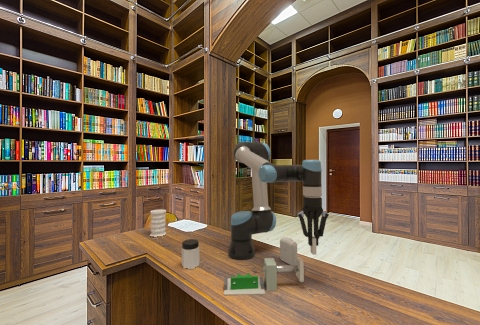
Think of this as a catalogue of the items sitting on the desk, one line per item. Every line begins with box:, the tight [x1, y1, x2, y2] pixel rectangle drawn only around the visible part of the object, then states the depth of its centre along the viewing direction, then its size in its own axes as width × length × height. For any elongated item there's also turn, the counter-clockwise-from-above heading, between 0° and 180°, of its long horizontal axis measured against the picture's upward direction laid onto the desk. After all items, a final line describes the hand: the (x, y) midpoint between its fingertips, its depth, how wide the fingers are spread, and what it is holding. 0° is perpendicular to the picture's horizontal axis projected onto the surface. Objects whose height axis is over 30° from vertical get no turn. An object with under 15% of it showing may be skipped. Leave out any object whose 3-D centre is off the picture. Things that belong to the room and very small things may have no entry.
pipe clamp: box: [230, 272, 259, 290], centre depth 90 cm, size 11×4×5 cm, turn 94°
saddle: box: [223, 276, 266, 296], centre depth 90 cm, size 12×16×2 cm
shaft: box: [262, 255, 305, 283], centre depth 91 cm, size 6×16×8 cm, turn 91°
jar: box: [181, 238, 200, 270], centre depth 110 cm, size 9×8×12 cm
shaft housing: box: [263, 257, 278, 292], centre depth 91 cm, size 7×4×10 cm, turn 1°
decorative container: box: [149, 208, 167, 237], centre depth 158 cm, size 12×12×18 cm
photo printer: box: [279, 236, 298, 265], centre depth 113 cm, size 10×4×12 cm, turn 29°
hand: (313, 253), depth 91 cm, fingers closed
